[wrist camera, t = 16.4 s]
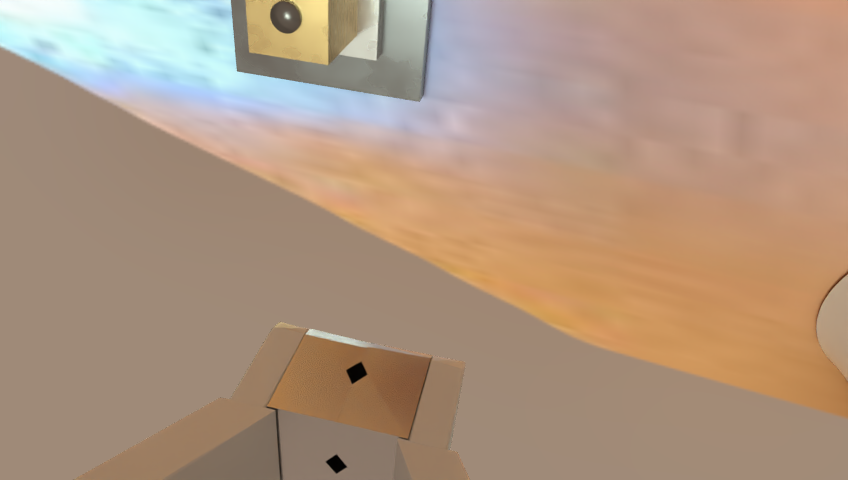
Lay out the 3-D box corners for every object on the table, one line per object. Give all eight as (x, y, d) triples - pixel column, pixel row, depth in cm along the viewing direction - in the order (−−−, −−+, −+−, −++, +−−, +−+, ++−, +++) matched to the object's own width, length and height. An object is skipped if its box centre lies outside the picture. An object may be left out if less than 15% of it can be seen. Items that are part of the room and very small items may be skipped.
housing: (359, -44, 40) (326, -22, 35) (357, 35, 43) (326, 66, 38) (283, -55, 41) (240, -35, 36) (286, 24, 44) (247, 54, 39)
